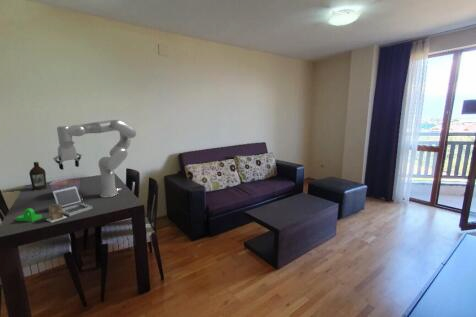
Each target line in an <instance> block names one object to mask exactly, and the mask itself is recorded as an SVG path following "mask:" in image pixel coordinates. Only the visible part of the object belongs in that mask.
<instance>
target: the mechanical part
mask: <svg viewBox="0 0 476 317" xmlns="http://www.w3.org/2000/svg"><path fill="white" fill-rule="evenodd" d="M42 218H43V216H42V214H35V210H34V209H33V208H31V207H29V208H26V209H24V210H23V214H22V215H19V216H16V217H14V219H15V221H16V222H18V221H19V222H32V223H33V222H35V221H38V220H40V219H42Z"/></svg>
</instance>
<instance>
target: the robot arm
mask: <svg viewBox="0 0 476 317" xmlns="http://www.w3.org/2000/svg"><path fill="white" fill-rule="evenodd" d="M115 131H117V132H119V141H118V142H117V143H116V144H115V145H114V146H113V147H112V148H111V149H110V151H109V156H110V157H109V156H103V157H100V159H99V160H98V168H99V173H100V181H101V182H100V183H101V190H102V193H101V194H100V197H101V198H111V197H116V196H118V195H119V192H120V191H122V188H121V187H119V188H117V187H116V179H115V176H116V174H115V170H116V169H118V167H120V165H122V163H123V162H124V161H125V160H126V159H127V157H128V149H129V147H130V145H131V139H133V138H135V137H136V135H137V131H136V129H135V128H133V127H132V126H130V125H128V124H127V123H126V122H123V121H122V120H120V119H111V120H110V119H109V120H103V121H94V122H90V123H81V124H75V125H71V126H69V125H68V126H67V125H62V126H61V125H60V126H57V127H56V132H57V136H58V144H59V146H58V147H57V155H56V156H54V157H53V159H52V160H53V161H54V162H55V163H56V164H58V167H59V170H62V171H63V170H64V164H63V163H64V162H65V161H72V160H74V167H77V168H79V167H80V160H81V159H82V156H83V155H82V154H80V153H78V152H77V150H76V146H75V145H74V144H75V141H73V137H83V136H84V135H86V134H102V133H107V132H115ZM117 194H118V195H117ZM115 195H116V196H115Z"/></svg>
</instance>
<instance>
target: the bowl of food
mask: <svg viewBox="0 0 476 317" xmlns="http://www.w3.org/2000/svg"><path fill="white" fill-rule="evenodd" d="M80 183H81V179H79V178H65V179H59V180H54V181H52V182H50V183H49V187H50V189H51V190H52V192H53V191H57V190H61V189H66V188H70V187H75V186H76V188H77V191H78V192H79V190H80V189H79V188H80Z"/></svg>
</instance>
